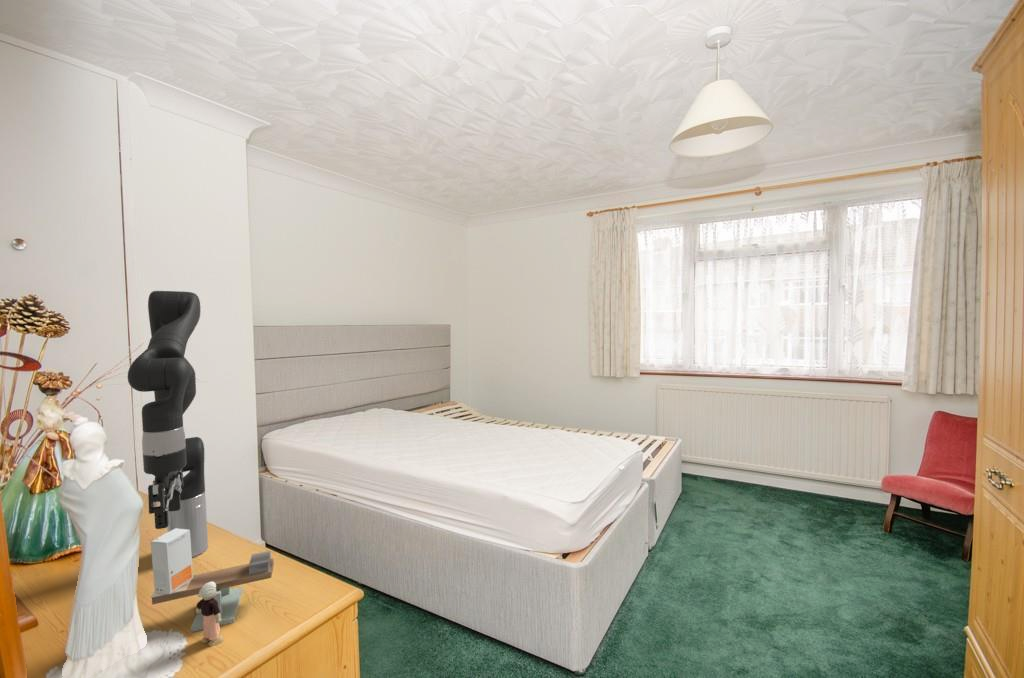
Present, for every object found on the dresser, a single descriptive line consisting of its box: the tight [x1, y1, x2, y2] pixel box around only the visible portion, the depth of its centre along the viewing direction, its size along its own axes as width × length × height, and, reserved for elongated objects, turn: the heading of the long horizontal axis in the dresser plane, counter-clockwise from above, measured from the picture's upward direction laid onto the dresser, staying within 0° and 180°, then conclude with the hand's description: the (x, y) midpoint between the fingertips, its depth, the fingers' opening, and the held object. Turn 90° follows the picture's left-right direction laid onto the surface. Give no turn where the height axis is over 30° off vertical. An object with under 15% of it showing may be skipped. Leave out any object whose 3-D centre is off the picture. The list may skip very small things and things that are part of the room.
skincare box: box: [150, 528, 194, 594], centre depth 101 cm, size 6×4×12 cm
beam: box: [150, 550, 275, 606], centre depth 104 cm, size 7×23×5 cm, turn 113°
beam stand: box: [190, 586, 244, 633], centre depth 105 cm, size 12×8×7 cm, turn 22°
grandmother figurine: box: [195, 582, 225, 647], centre depth 95 cm, size 8×4×13 cm, turn 77°
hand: (168, 518), depth 100 cm, fingers open, 8 cm apart
